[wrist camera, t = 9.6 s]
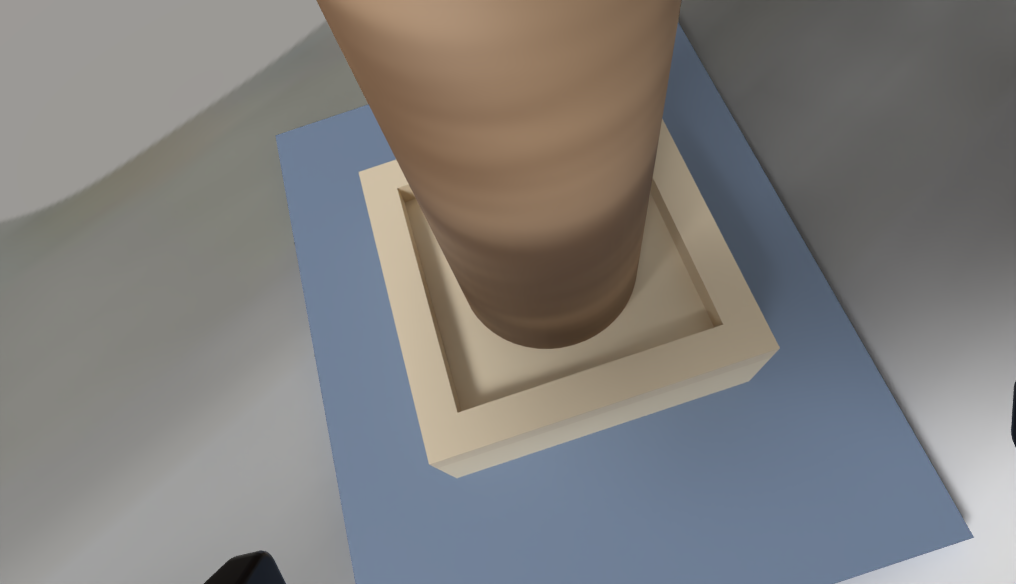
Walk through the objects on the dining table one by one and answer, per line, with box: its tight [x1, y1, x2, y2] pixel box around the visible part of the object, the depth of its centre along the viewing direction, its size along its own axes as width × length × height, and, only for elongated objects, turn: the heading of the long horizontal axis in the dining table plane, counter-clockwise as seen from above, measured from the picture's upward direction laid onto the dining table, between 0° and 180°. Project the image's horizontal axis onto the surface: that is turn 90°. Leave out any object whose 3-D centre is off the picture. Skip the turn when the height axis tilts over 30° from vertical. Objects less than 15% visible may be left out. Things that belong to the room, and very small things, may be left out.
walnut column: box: [317, 0, 681, 349], centre depth 12 cm, size 5×5×13 cm
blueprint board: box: [276, 23, 974, 584], centre depth 19 cm, size 20×16×4 cm
